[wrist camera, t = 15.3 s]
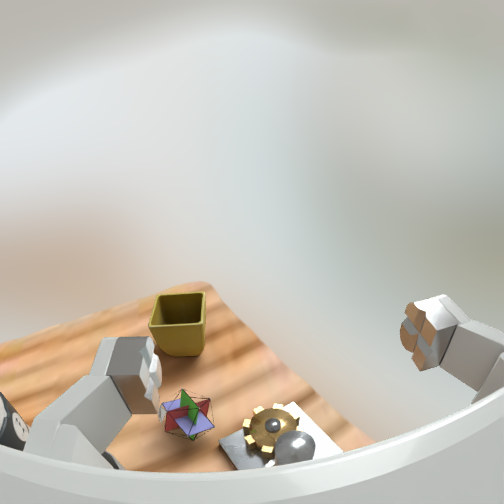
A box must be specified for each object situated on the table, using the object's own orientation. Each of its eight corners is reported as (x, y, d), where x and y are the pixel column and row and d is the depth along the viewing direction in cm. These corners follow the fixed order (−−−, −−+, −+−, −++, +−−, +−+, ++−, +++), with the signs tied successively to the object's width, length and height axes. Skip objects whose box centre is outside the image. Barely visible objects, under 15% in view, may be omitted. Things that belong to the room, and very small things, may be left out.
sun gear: (264, 471, 31) (263, 460, 29) (234, 431, 37) (231, 417, 35) (312, 443, 34) (316, 429, 33) (280, 408, 40) (280, 392, 39)
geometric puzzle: (206, 386, 42) (168, 374, 37) (235, 415, 37) (196, 408, 32) (180, 420, 41) (140, 412, 35) (206, 451, 36) (165, 448, 31)
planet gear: (293, 518, 24) (301, 493, 19) (248, 486, 28) (239, 450, 23) (331, 478, 28) (348, 438, 23) (286, 450, 32) (289, 404, 27)
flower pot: (210, 363, 49) (202, 323, 45) (160, 365, 49) (147, 326, 45) (211, 330, 57) (205, 290, 53) (166, 332, 57) (156, 294, 52)
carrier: (293, 540, 22) (295, 535, 20) (219, 444, 35) (215, 431, 34) (372, 484, 27) (380, 474, 26) (293, 406, 41) (294, 391, 39)
